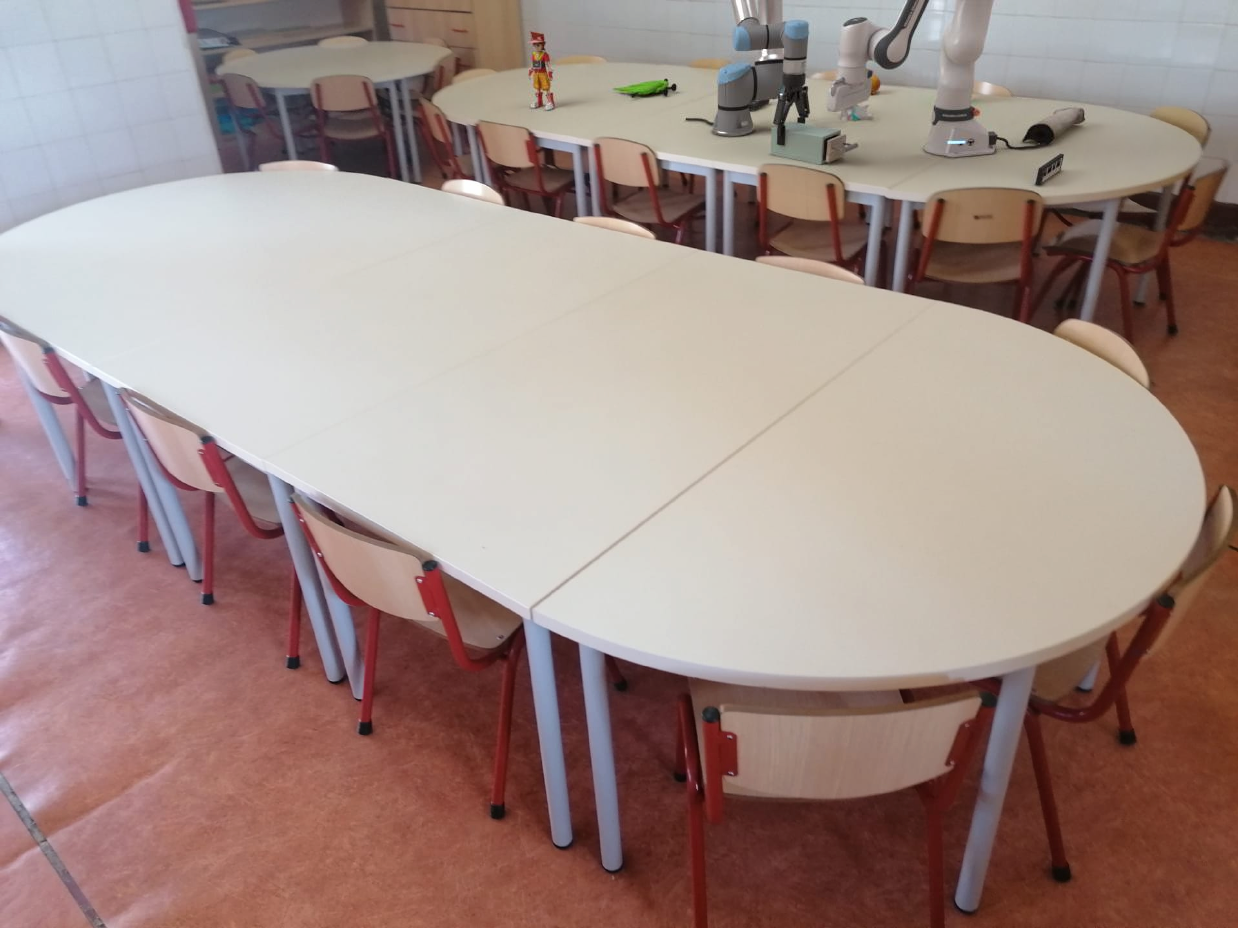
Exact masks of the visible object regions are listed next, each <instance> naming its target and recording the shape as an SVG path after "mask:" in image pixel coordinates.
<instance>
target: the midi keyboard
mask: <svg viewBox="0 0 1238 928" xmlns="http://www.w3.org/2000/svg"><path fill="white" fill-rule="evenodd" d="M1064 157H1065V153H1059V154H1058V155H1056V156H1055V157H1052V159H1051V160H1049V161H1047V162H1045V164H1042V165H1041V166H1039V167H1038V169H1037V175H1036V179H1035V186H1040V185H1042V183H1044V182H1045V181H1047V180H1048V179H1049V178H1051V177H1052V176H1054V175H1055V174H1056V173H1058V172H1060V171H1061V170H1062V165H1063V161H1064Z"/></svg>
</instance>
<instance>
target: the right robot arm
mask: <svg viewBox="0 0 1238 928" xmlns="http://www.w3.org/2000/svg"><path fill="white" fill-rule="evenodd" d="M994 1H995V0H955V5H954V11H953V18H952V22H951V23H950V24H948V25H947V26H946V28H945V29H944V31H943V33H942V37H941V43H940V54H939V68H938V71H939V72H938V83H937V90H936V97H935V104H934V105H933V109H932V111H931V125H930V131H929V134H928V137H927V140H926V143H925V145H924V147H923V150H924V151H925V152H927V153H929V154H933V155H937V156H944V157H947V158H961V157H971V156H981V155H982V156H983V155H991V154H994V153H995V150H996V148H995V146H996V145H997V142H998V141H1002V142H1004V143H1005V147H1006V148H1007V149H1009V150H1017V151H1018V150H1022V151H1023V150H1032V149H1037V148H1040V147H1041V148H1042V147H1045V146H1047V145H1046V143H1042V144H1038V143H1037V144H1034V145H1024V146H1023V145H1022V146H1012V145H1011V144H1010V142H1009V140H1008V139H1007V138H1005V137H1000V136H998V134H997V133H996V132H995V131H991V130H990V131H988V129H987V128H986V127H985V126H984V125H983V124H982V123H980V121H978V120H977V118H975V117H978V116H979V115H981V110H980V109H978V108H976V107H974V106H973V105H972V98H973V93H974V92H973V91H974V87H975V73H976V72H975V70H976V62H977V61H978V59H979V58H981V56H982V54H983V53H984V48H985V43H986V39H987V34H988V30H989V25H990V20H991V14H992V11H993V6H994V3H995V2H994ZM929 2H930V0H905V1H904V4H903V6H902V8H901V10H900V12H899V15H898V17H897V19H896V21H895V23H894V25H893V27H892V28H891V29H889V28H886V27H883V26H881V25H878V24H876V23H874V22H872V21H871V20H869V18H867V17H864V16H860V17H854V18H851V19H848V20H847V21H845V22H844V23H843V25H842V27H841V29H840V33H839V42H838V57H839V58H838V61H837V64H836V76H835V80H833V83H832V84H831V86H830V87H829V90H828V93H827V100H826V110H827V112H830V113H838V112H840V114H841V121H842V122H845V123H846V122H850V121H852V119H853V117H852V114H853V112H854V109H855V105H857V104H858V105H859V104H861V103H864V102H867V101H869V99H870V97H871V86H872V79H871V78H872V77H873V75H874V72H875V71H874V70H873V69H869V68H867V63H868V62H870V61H872V62H874V63H876V64H877V65H878V66H879V67H881V68H882V69H884V70H888V71H889V70H895V69H898V68H899V67H900V66H902V65H903V64H904V63H905V62H906V60H907V59H908V57H909V54H910V51H911V46H912V45H911V44H912V41H913V40H912V39H913V37H914V34H915V32H916V30H917V28H918V25H919V23H920V22H921V19H922V17H923V15H924V13H925V11H926V8H927V7H928V4H929Z"/></svg>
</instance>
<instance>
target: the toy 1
mask: <svg viewBox="0 0 1238 928" xmlns="http://www.w3.org/2000/svg"><path fill="white" fill-rule="evenodd" d="M529 33H530V35H531V36H528V37H527V38H528V39H529V40H528V41H527V43H529V44H530V43H531V44H532V48H533V50H534V51H533V52H532V55H531V58H530V59H531V63H530V66H528V74H527V75H528V76H527V77H528V79H529V80H531V75H532V74H533V84H532V85H533V86H532V87H533V88H534V89H535V90H536V92H534V95H535V97H536V100H535V101H533V102H531V105H530V108H531V109H535V108H538V107H542V106H544V101H543V100H544V99H543V95H544V92H546V94H545V97H546V99H547V103H546V104H545V106H544V110H546V111H549V110H553V109H554V107H555V106H556V105H555V99H554V92H551V91H550V90H551V86H552V84H551V82H552V81H553V80H554V77H553V73H554V71H555V70H554V69H552V68H551V63H550V61H551V59H550V58H551V57H550V54H549V53H548V52H547V50H546V48H545V46H546V44H547V41H545V35H544V33H543V32H542V33H539V32H535V31H529Z"/></svg>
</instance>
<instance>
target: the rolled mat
mask: <svg viewBox="0 0 1238 928" xmlns="http://www.w3.org/2000/svg"><path fill="white" fill-rule="evenodd" d="M1085 121H1086V118H1085V109H1084V108H1083V107H1075V106H1074V107H1067V108H1066V107H1065V108H1059V109H1056V110H1054V112H1053V114H1052V115H1049V116H1047V117H1045V118H1043V119H1041V120H1039V121H1038V122H1036V123H1034V124H1032V125H1031V126H1030V127H1028V128H1027V131H1026V133H1025V135H1024V136H1023V138H1022V139H1021V140H1022V141H1021V143H1025V142H1026V141H1034V142H1035V143H1036V144H1037V145H1038V144H1042V143H1046V145H1045V146H1049V145H1050V144H1052V143H1053V142H1054V141H1056V140H1057V138H1058V137H1060V135H1061V134H1062V133H1063V132H1065V131H1066V130H1067V129H1068V128H1070V127H1071V126H1073V125H1080V124H1082V123H1084V122H1085Z"/></svg>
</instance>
